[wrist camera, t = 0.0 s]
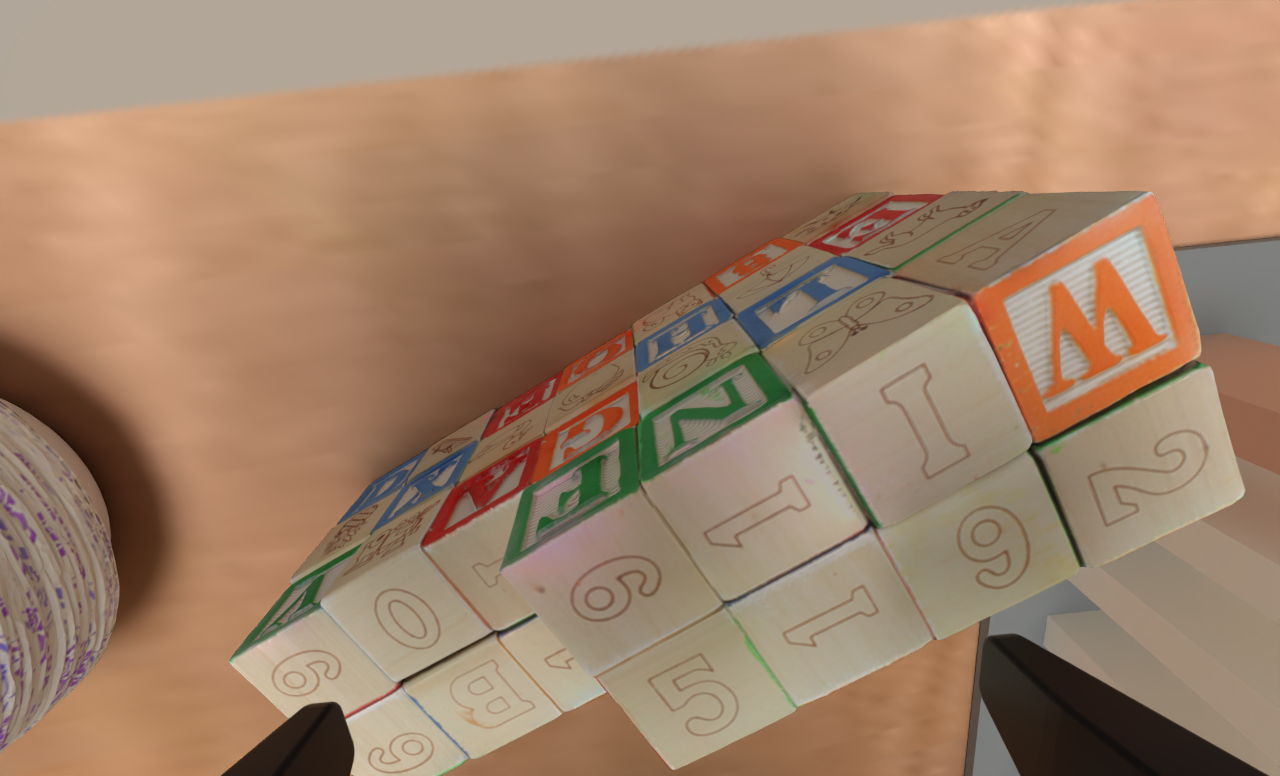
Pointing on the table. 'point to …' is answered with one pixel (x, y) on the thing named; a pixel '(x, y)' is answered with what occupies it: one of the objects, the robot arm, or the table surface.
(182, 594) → the table surface
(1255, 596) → the domino
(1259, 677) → the domino
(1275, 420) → the domino
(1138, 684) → the domino
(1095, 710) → the robot arm
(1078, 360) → the stack of blocks
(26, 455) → the paper bowls
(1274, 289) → the mat
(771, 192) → the table surface
